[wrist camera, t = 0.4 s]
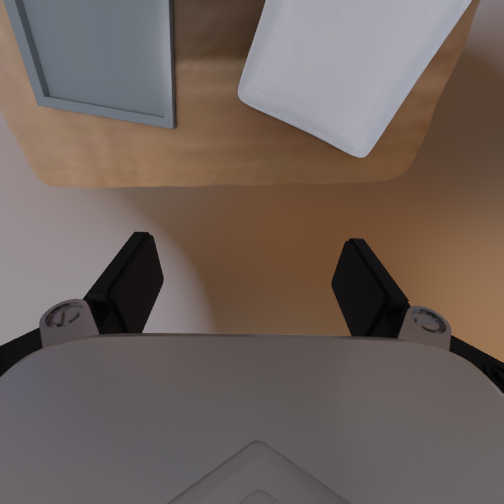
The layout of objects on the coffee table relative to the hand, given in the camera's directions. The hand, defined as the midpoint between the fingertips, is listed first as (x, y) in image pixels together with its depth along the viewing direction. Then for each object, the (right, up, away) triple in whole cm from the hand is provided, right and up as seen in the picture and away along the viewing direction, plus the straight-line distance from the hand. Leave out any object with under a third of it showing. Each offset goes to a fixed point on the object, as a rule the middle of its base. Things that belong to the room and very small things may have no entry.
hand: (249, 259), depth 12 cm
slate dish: (-19, +27, +17) cm, 37 cm away
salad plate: (+12, +27, +18) cm, 35 cm away
